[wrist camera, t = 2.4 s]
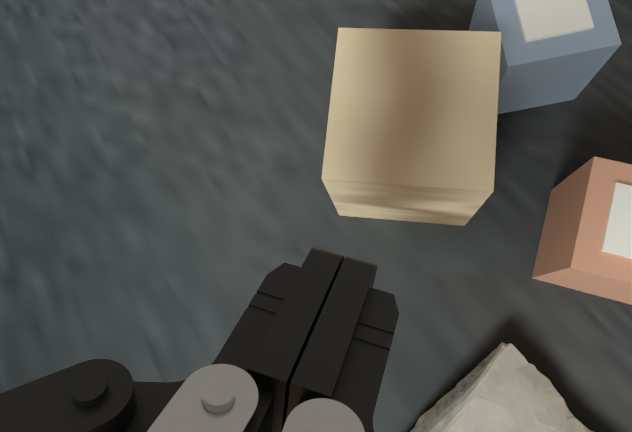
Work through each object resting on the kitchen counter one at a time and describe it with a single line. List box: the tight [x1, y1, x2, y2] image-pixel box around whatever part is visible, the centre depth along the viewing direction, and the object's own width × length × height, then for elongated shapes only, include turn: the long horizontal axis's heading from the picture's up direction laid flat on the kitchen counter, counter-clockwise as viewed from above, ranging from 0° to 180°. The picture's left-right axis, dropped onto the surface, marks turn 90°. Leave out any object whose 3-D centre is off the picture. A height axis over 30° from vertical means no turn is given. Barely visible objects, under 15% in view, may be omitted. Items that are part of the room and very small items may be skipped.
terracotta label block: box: [532, 156, 632, 305], centre depth 24 cm, size 5×5×6 cm
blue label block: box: [468, 0, 621, 114], centre depth 26 cm, size 5×5×6 cm
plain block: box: [322, 28, 501, 226], centre depth 25 cm, size 7×7×8 cm
